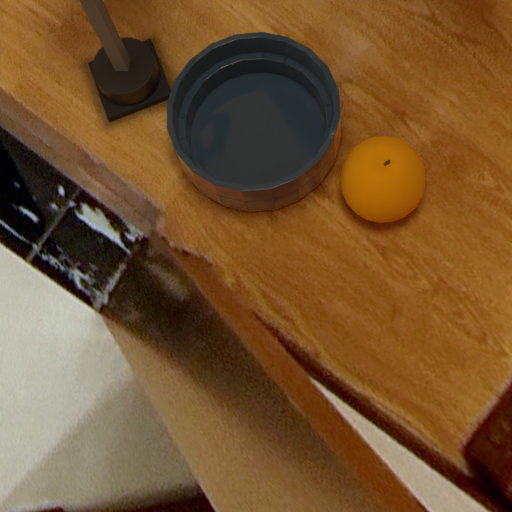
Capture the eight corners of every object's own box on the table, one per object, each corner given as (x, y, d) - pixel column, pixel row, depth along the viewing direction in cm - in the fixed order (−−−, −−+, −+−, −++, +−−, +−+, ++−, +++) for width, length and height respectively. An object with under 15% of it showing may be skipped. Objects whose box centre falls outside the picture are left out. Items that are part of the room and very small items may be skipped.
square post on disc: (163, 50, 89) (99, -112, 66) (156, 106, 87) (89, -41, 64) (102, 50, 89) (19, -111, 66) (95, 105, 88) (7, -40, 65)
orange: (332, 164, 84) (330, 131, 77) (411, 146, 84) (417, 111, 76) (350, 239, 81) (351, 213, 74) (432, 222, 81) (440, 193, 74)
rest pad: (152, 42, 90) (150, 38, 89) (173, 97, 88) (172, 94, 87) (89, 66, 90) (87, 62, 89) (109, 122, 88) (107, 118, 87)
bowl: (304, 41, 88) (301, 8, 82) (365, 176, 83) (367, 151, 77) (157, 98, 88) (144, 69, 82) (209, 237, 83) (199, 216, 77)
